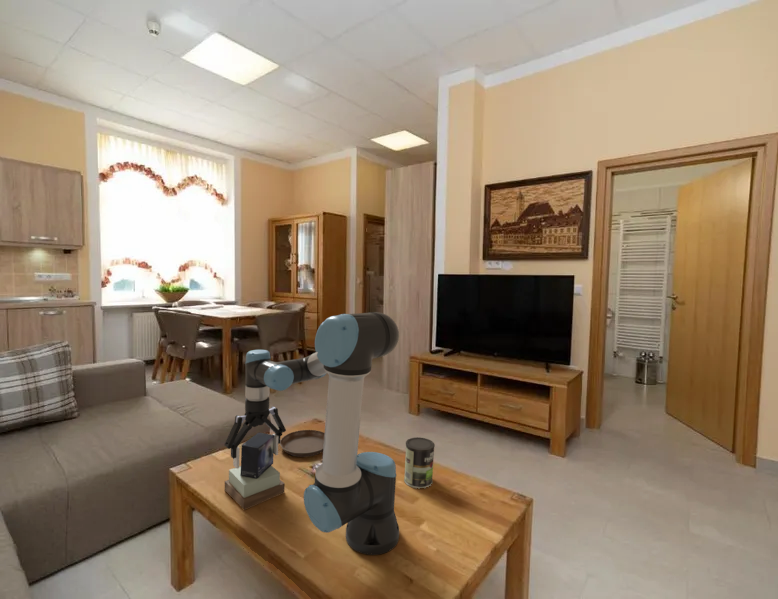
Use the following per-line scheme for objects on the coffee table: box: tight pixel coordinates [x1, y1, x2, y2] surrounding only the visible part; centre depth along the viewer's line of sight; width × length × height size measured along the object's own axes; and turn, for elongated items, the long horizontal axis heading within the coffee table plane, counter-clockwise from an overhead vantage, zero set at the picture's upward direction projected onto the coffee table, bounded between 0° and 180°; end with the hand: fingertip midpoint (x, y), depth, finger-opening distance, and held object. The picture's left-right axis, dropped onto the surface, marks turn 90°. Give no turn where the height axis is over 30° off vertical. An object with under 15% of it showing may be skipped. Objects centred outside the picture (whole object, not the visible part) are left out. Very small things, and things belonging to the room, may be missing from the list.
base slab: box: [224, 479, 285, 510], centre depth 129 cm, size 14×14×4 cm
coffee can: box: [403, 437, 436, 490], centre depth 140 cm, size 10×10×14 cm
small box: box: [240, 432, 274, 479], centre depth 129 cm, size 11×6×10 cm, turn 168°
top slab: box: [228, 465, 281, 498], centre depth 129 cm, size 12×12×4 cm
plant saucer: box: [279, 429, 325, 458], centre depth 162 cm, size 21×21×3 cm
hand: (256, 460), depth 129 cm, fingers open, 13 cm apart
